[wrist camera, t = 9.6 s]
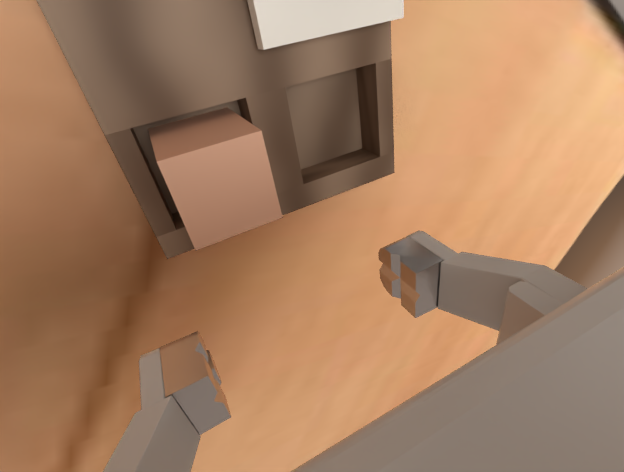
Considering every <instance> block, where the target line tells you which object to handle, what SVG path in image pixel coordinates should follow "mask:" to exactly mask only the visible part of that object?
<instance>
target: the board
mask: <svg viewBox="0 0 624 472" xmlns="http://www.w3.org/2000/svg"><path fill="white" fill-rule="evenodd" d="M37 2H38V4H39V6H40V8H41V10H42V12H43V14H44V16H45V18H46V20H47V22H48V24H49V26H50V28H51V30H52V32H53V34H54V36H55V38H56V40H57V42H58V44H59V46H60V48H61V50H62V52H63V54H64V56H65V58H66V60H67V62H68V64H69V65H70V67H71V69H72V71H73V73H74V75H75V77H76V79H77V81H78V83H79V85H80V87H81V89H82V91H83V93H84V95H85V97H86V99H87V101H88V103H89V105H90V107H91V109H92V111H93V113H94V115H95V117H96V119H97V121H98V123H99V125H100V127H101V129H102V131H103V133H104V135H105V137H106V139H107V141H108V143H109V145H110V147H111V149H112V151H113V153H114V155H115V156H116V158H117V160H118V162H119V164H120V166H121V168H122V170H123V172H124V174H125V176H126V178H127V180H128V182H129V184H130V186H131V188H132V190H133V192H134V194H135V196H136V198H137V200H138V202H139V204H140V206H141V208H142V210H143V212H144V214H145V216H146V218H147V220H148V222H149V224H150V226H151V228H152V230H153V232H154V234H155V236H156V238H157V240H158V242H159V244H160V245H161V247H162V249H163V251H164V253H165V255H166V257H167V259H169V258H171V257H174V256H177V255H179V254H182V253H184V252H187V251H190V250H192V249H195V248H194V246H193V243H192V241H191V239H190V237H189V234H188V232H187V230H186V227H185V225H184V223H183V221H182V218H181V216H180V214H179V211H178V209H177V207H176V205H175V202H174V200H173V198H172V195H171V193H170V191H169V189H168V186H167V184H166V182H165V180H164V177H163V175H162V173H161V170H160V168H159V166H158V164H157V161H156V157H155V154H154V150H153V146H152V143H151V139H150V136H149V132H148V128H152V127H156V126H160V125H163V124H167V123H171V122H174V121H178V120H182V119H185V118H189V117H193V116H197V115H200V114H204V113H208V112H211V111H215V110H219V109H222V108H226V107H227V108H229V109H230V110H232V111H233V112H235V113H236V114H238V115H239V116H241V117H242V118H244V119H245V120H247V121H248V122H250V123H251V124H253V125H254V126H256V127H257V128H259V129H260V130H261V131H262V135H263V139H264V143H265V147H266V151H267V155H268V159H269V163H270V168H271V172H272V176H273V180H274V184H275V188H276V192H277V196H278V201H279V205H280V209H281V213H282V215H284V214H287V213H290V212H292V211H295V210H298V209H300V208H303V207H306V206H308V205H311V204H313V203H316V202H319V201H321V200H324V199H327V198H329V197H332V196H335V195H337V194H340V193H342V192H345V191H348V190H350V189H353V188H356V187H358V186H361V185H363V184H366V183H369V182H371V181H374V180H377V179H379V178H382V177H385V176H387V175H390V174H392V173H394V140H393V100H392V61H391V21H387V22H383V23H378V24H374V25H370V26H365V27H361V28H356V29H352V30H348V31H343V32H339V33H335V34H330V35H326V36H321V37H317V38H313V39H308V40H304V41H300V42H295V43H291V44H286V45H282V46H278V47H273V48H269V49H265V50H262V49H258V47H257V43H256V38H255V33H254V29H253V24H252V20H251V15H250V11H249V6H248V2H247V0H37Z"/></svg>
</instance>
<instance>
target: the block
mask: <svg viewBox="0 0 624 472" xmlns="http://www.w3.org/2000/svg"><path fill="white" fill-rule="evenodd" d="M148 132H149V136H150V139H151V143H152V146H153V150H154V154H155V157H156V161H157V164H158V166H159V168H160V170H161V173H162V175H163V177H164V180H165V182H166V184H167V186H168V189H169V191H170V193H171V195H172V198H173V200H174V202H175V205H176V207H177V209H178V211H179V214H180V216H181V218H182V221H183V223H184V225H185V227H186V230H187V232H188V234H189V237H190V239H191V241H192V243H193V246H194V248H195V250H196V251H197V250H199V249H202V248H204V247H207V246H210V245H212V244H215V243H218V242H220V241H223V240H225V239H228V238H231V237H233V236H236V235H238V234H241V233H244V232H246V231H249V230H252V229H254V228H257V227H259V226H262V225H265V224H267V223H270V222H272V221H275V220H278V219H280V218H283V217H282V213H281V209H280V205H279V201H278V196H277V192H276V188H275V184H274V180H273V176H272V172H271V168H270V163H269V159H268V155H267V151H266V147H265V143H264V139H263V135H262V131H261V130H260V129H259V128H257V127H256V126H254V125H253V124H251V123H250V122H248V121H247V120H245V119H244V118H242V117H241V116H239V115H238V114H236V113H235V112H233V111H232V110H230V109H229V108H227V107H226V108H222V109H219V110H215V111H211V112H208V113H204V114H200V115H197V116H193V117H189V118H185V119H182V120H178V121H174V122H171V123H167V124H163V125H160V126H156V127H152V128H148Z"/></svg>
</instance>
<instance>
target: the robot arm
mask: <svg viewBox="0 0 624 472" xmlns="http://www.w3.org/2000/svg"><path fill="white" fill-rule="evenodd" d="M379 260H380V261H381V262H382V263H383V264H382V266H381V268H380V279H381V281H382V283H383V286H384V287H385V289H386V290H387V292H388V293H389V294H390V295H391V296H393V297H397V298H401V305H402V306H403V307H404V308H405V309H406V310H407V311H408V312H409V313H410V314H411V315H412V316H414V317H415V318H417V317H419V316H421V315H423V314H425V313H427V312H429V311H431V310H433V309H435V308H437V307H438V309H441V310H444V311H446V312H449V313H452V314H454V315H457V316H460V317H463V318H465V319H468V320H471V321H474V322H476V323H479V324H482V325H484V326H487V327H490V328H493V329H495V330H498V331H499V334H498V338H497V343H496V344H497V345H496V346H494V347H492V348H491V349H489V350H488V351H486V352H484V353H483V354H481V355H479V356H478V357H476V358H475V359H473V360H471V361H470V362H468V363H466V364H465V365H463V366H462V367H460V368H458V369H457V370H455V371H453V372H452V373H450V374H449V375H447V376H445V377H444V378H442V379H440V380H439V381H437V382H435V383H434V384H432V385H431V386H429V387H427V388H426V389H424V390H422V391H421V392H419V393H418V394H416V395H414V396H413V397H411V398H409V399H408V400H406V401H405V402H403V403H401V404H400V405H398V406H396V407H395V408H393V409H392V410H390V411H388V412H387V413H385V414H384V415H382V416H380V417H379V418H377V419H375V420H374V421H372V422H371V423H369V424H367V425H366V426H364V427H362V428H361V429H359V430H358V431H356V432H354V433H353V434H351V435H349V436H348V437H346V438H345V439H343V440H341V441H340V442H338V443H336V444H335V445H333V446H332V447H330V448H328V449H327V450H325V451H323V452H322V453H320V454H319V455H317V456H315V457H314V458H312V459H310V460H309V461H307V462H306V463H304V464H302V465H301V466H299V467H297V468H296V469H294V470H293V471H291V472H624V267H623V268H621V269H619V270H618V271H616V272H614V273H613V274H611V275H610V276H608V277H606V278H605V279H603V280H601V281H600V282H598V283H597V284H595V285H593V286H592V287H590V288H588V289H587V288H585V287H584V286H582V285H580V284H578V283H576V282H574V281H572V280H571V279H569V278H567V277H565V276H563V275H561V274H559V273H558V272H556V271H554V270H552V269H550V268H549V267H547V266H544V265H538V264H532V263H526V262H520V261H514V260H508V259H502V258H496V257H490V256H484V255H478V254H472V253H466V252H461V253H459V254H458V253H456V252H455V251H453V250H452V249H450V248H448V247H447V246H445V245H444V244H442V243H441V242H439V241H438V240H436V239H434V238H433V237H431V236H430V235H428V234H427V233H425V232H423V231H417V232H415V233H413V234H411V235H408V236H406V237H405V238H402V239H400V240H398V241H396V242H394V243H392V244H389V245H387V246H385V247H383V248H381V249H380V250H379ZM139 375H140V395H141V410H140V411H138V412H136V413H135V414H134V416H133V418H132V420H131V421H130V423H129V425H128V427H127V429H126V430H125V432H124V434H123V436H122V438H121V440H120V441H119V443H118V445H117V447H116V449H115V450H114V452H113V454H112V456H111V458H110V460H109V461H108V463H107V465H106V467H105V469H104V471H103V472H191V468H192V465H193V461H194V458H195V454H196V451H197V447H198V444H199V440H200V436H199V435H201V434H202V433H204V432H206V431H208V430H209V429H211V428H213V427H215V426H216V425H218V424H220V423H222V422H223V421H225V420H227V419H229V418H230V417H231V415H230V411H229V407H228V404H227V400H226V397H225V394H224V392H223V391H222V389H221V387H220V384H221V380H220V376H219V373H218V370H217V368H216V365H215V362H214V360H213V358H212V356H211V354H210V352H209V350H206V347H205V344H204V340H203V338H202V336H201V335H200V333H199V332H198V331H197V332H194V333H192V334H190V335H187V336H185V337H183V338H180V339H178V340H176V341H173V342H171V343H168V344H166V345H164V346H161V347H160V348H158V349H155V350H153V351H151V352H148V353H146V354H144V355H141V356H140V359H139Z"/></svg>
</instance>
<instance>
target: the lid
mask: <svg viewBox="0 0 624 472" xmlns="http://www.w3.org/2000/svg"><path fill="white" fill-rule="evenodd" d="M247 2H248V6H249V11H250V15H251V20H252V24H253V29H254V33H255V38H256V43H257V47H258V49H262V50H265V49H269V48H273V47H278V46H282V45H286V44H291V43H295V42H300V41H304V40H308V39H313V38H317V37H321V36H326V35H330V34H335V33H339V32H343V31H348V30H352V29H356V28H361V27H365V26H370V25H374V24H378V23H383V22H387V21H391V20H396V19H400V18H404V0H247Z"/></svg>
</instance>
